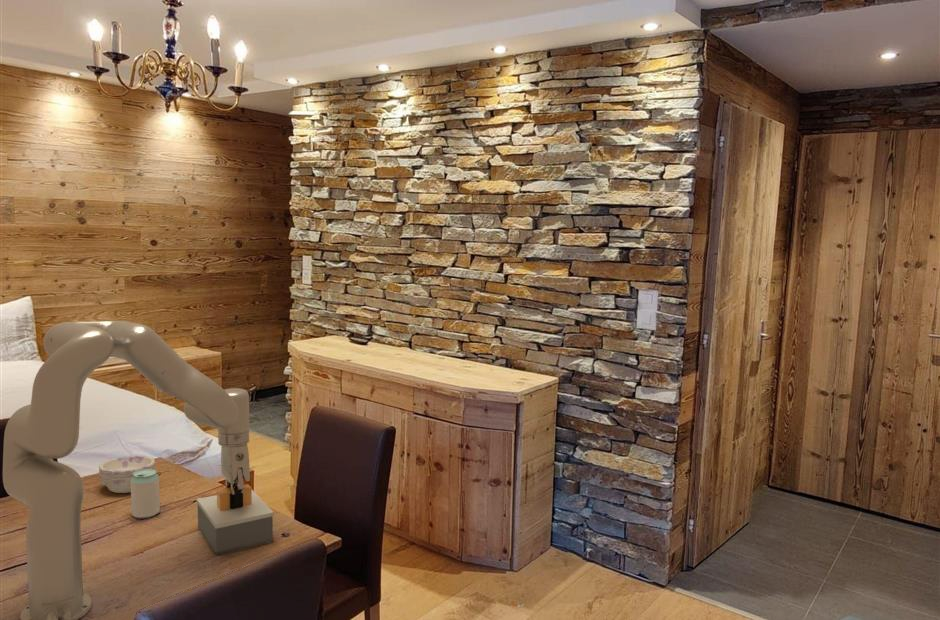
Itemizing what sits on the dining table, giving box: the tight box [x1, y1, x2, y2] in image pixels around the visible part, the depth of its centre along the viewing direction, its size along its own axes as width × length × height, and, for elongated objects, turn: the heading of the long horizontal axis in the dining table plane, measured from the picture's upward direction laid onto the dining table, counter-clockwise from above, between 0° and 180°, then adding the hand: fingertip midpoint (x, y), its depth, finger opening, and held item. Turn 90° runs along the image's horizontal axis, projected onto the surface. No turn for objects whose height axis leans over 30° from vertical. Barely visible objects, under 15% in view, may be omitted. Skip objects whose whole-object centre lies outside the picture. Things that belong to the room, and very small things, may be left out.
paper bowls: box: [98, 455, 156, 494], centre depth 205 cm, size 15×15×8 cm
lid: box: [196, 483, 275, 529], centre depth 176 cm, size 18×14×6 cm
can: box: [130, 469, 161, 520], centre depth 187 cm, size 7×7×12 cm
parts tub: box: [197, 504, 274, 556], centre depth 177 cm, size 18×14×7 cm
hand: (234, 504), depth 176 cm, fingers closed on lid, 3 cm apart
